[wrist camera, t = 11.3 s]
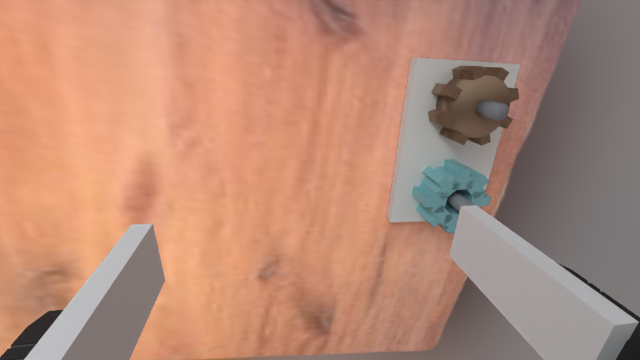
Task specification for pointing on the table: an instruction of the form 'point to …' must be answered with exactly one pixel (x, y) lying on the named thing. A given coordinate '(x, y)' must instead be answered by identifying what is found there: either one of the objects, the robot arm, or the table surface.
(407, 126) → the gear board
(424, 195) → the teal gear
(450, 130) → the walnut gear
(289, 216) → the table surface
